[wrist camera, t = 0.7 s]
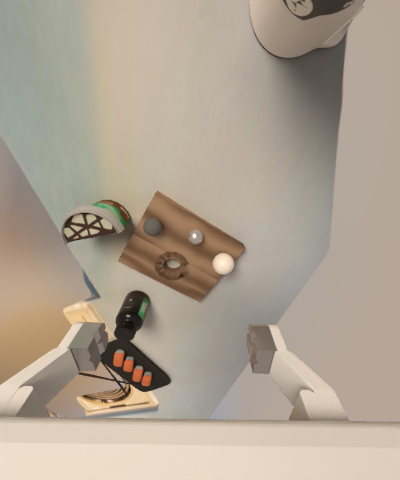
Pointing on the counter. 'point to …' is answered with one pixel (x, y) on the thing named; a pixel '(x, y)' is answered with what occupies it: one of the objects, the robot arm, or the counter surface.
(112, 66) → the counter surface
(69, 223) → the food container
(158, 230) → the gray rubber ball
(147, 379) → the sushi plate
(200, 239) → the steel ball
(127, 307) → the supplement bottle
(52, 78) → the counter surface
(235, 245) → the board
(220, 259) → the cream plastic ball
